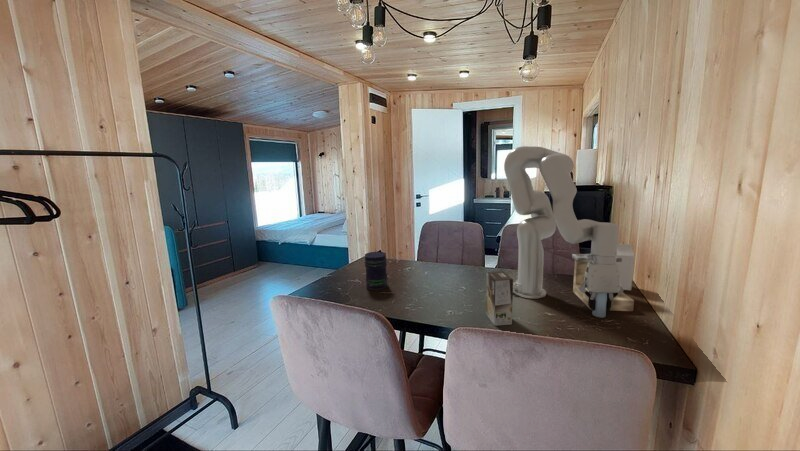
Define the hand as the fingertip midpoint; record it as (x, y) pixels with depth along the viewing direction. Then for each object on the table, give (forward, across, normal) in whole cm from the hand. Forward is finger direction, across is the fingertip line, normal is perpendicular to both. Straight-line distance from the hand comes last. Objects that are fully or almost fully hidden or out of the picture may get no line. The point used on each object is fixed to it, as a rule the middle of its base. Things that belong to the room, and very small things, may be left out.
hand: (599, 308), depth 116 cm
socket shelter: (+2, +6, +13) cm, 15 cm away
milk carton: (+3, +19, +28) cm, 34 cm away
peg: (+2, 0, 0) cm, 2 cm away
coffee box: (+3, -35, -6) cm, 36 cm away
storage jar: (+3, -85, +24) cm, 88 cm away
